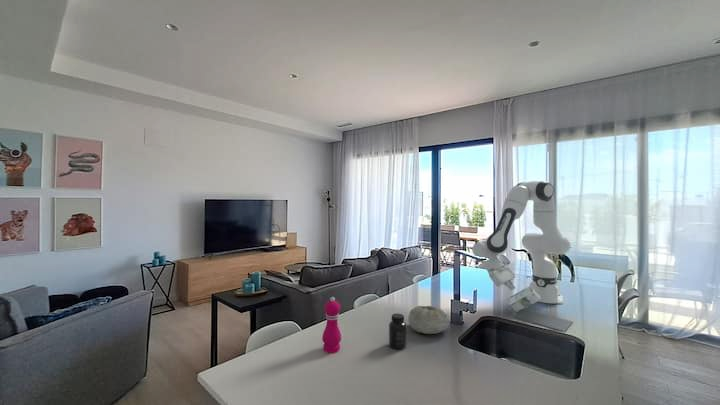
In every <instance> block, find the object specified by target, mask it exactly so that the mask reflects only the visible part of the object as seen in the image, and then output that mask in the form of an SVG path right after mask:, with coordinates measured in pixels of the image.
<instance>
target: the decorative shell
mask: <svg viewBox="0 0 720 405" xmlns="http://www.w3.org/2000/svg"><path fill="white" fill-rule="evenodd" d="M408 314H409V315H408V323H409V326H410V327H411V328H412V329H413V330H414V331H416V332H417V333H422V334H426V335H433V334H434V335H435V334H440V333H442V332H444V331H445V330H447V329H449V326H450V324H451V322H450V321H451V320H450V318H449V316H448V313H446V312H445V311H444V310H443V309H440V308H439V307H435V306H433V305H418V306H414V307H413V308H412V309H410V312H409V313H408Z"/></svg>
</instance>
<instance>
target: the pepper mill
mask: <svg viewBox="0 0 720 405" xmlns="http://www.w3.org/2000/svg"><path fill="white" fill-rule="evenodd" d="M329 298H330V299H329V301H327V302H326V303H325V305H324V312H325V319H326V326H325V328H324V330H323V333H322V338H321V339H322V340H321V341H322V342H323V351H324V352H325V353H327V354H335V353H338V352H339V351H340V348H341V341H342V333H341V331H340V328H339V325H338V320H339V318H340V316H339V315H340V314H339V313H340V311H341V305H340V303H339V301H336V298H335V297H334V296H331V297H329Z"/></svg>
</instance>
